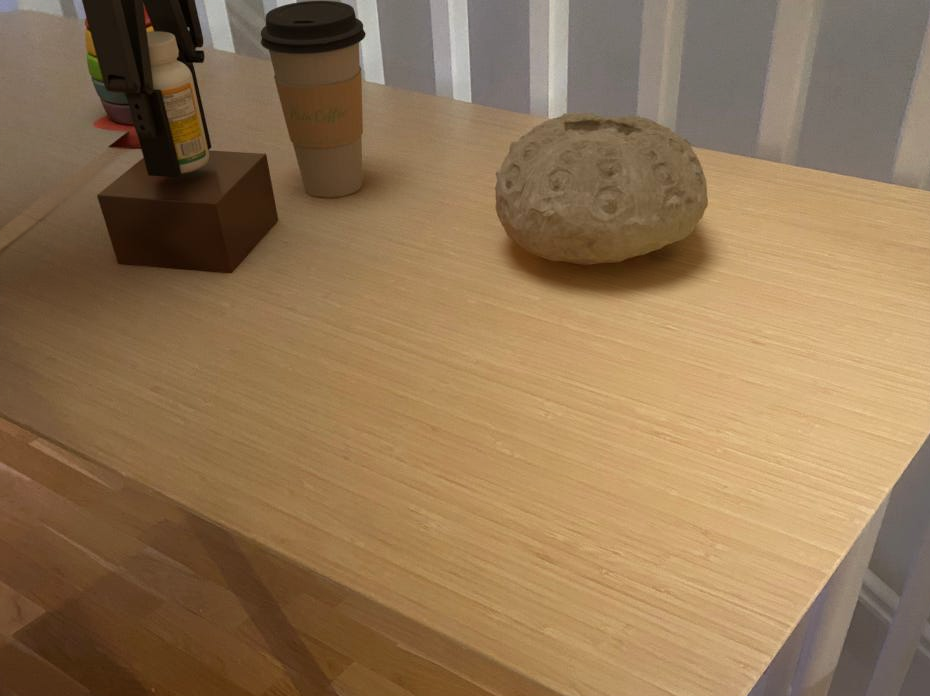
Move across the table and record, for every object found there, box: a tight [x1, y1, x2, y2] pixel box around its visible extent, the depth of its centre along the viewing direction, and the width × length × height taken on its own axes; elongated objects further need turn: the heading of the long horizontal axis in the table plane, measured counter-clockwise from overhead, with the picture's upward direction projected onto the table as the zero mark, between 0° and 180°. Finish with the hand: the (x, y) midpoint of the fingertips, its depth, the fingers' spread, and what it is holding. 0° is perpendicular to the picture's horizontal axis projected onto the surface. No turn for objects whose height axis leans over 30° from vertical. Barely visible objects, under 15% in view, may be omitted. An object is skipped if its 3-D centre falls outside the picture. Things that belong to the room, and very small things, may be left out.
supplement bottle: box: [147, 31, 209, 173], centre depth 82 cm, size 5×5×10 cm
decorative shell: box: [494, 112, 709, 266], centre depth 83 cm, size 18×18×10 cm
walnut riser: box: [96, 149, 279, 274], centre depth 88 cm, size 11×11×6 cm
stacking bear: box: [84, 3, 154, 149], centre depth 104 cm, size 11×10×18 cm
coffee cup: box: [260, 0, 366, 198], centre depth 93 cm, size 9×9×15 cm
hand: (180, 160), depth 85 cm, fingers closed on supplement bottle, 5 cm apart
